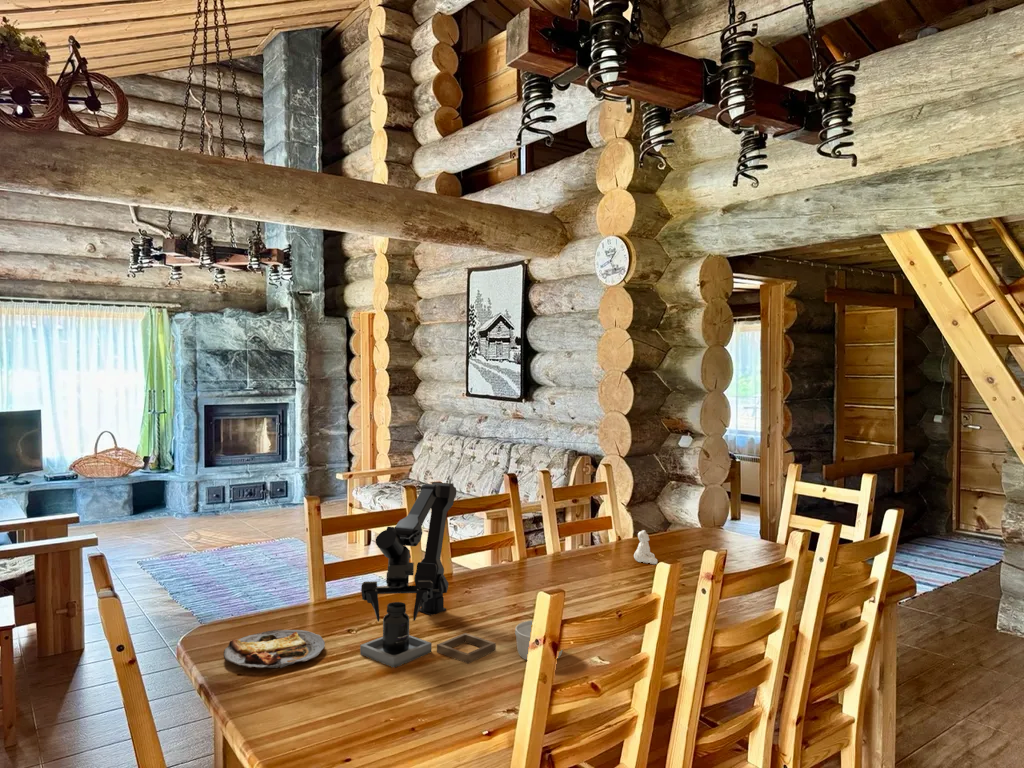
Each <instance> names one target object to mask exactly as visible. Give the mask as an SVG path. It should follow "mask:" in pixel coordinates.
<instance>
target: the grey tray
mask: <svg viewBox="0 0 1024 768" xmlns="http://www.w3.org/2000/svg"><path fill="white" fill-rule="evenodd" d="M432 643H433V642H431V641H427V640H424V639H422V638H419V637H415V636H414V635H410V634H409V649H408V650H407V651H405V652H403V653H400V654H388V653H386V652H384V651H383V636H380V637H378V638H375V639H373V640H369V641H368V642H365V643H362V644H360V645H359V646H360V649H359V652H360V653H359V654H360V655H361V656H363V657H365V656H366V657H365V658H368V657H369V658H368V659H370V658H371V660H373V661H375V660H376V661H375V662H378V661H379V662H378V663H380V662H381V663H380V664H384V665H385V664H386V665H385V666H388V665H389V666H388V667H390V666H391V668H393V667H394V669H396V668H398V667H400V666H403V665H404V663H405V664H407V663H409V662H412V661H414V660H417V659H419V658H422V657H424V656H426V655H428V653H429V654H430V652H431V653H432ZM421 656H422V657H421ZM402 664H403V665H402ZM397 666H398V667H397ZM395 667H396V668H395Z"/></svg>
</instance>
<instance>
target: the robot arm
mask: <svg viewBox="0 0 1024 768" xmlns="http://www.w3.org/2000/svg"><path fill="white" fill-rule="evenodd" d="M456 496H457V487H455V486H454V484H453V483H450V482H438V481H437V482H436V481H434V482H432V483H424V484H422V486H421V488H420V493H419V494H418V496H417V498H416V500H415V502H414V503H413V505H412V506H411V509H410V510H409V512H408V514H407V516H405V517H403V518H402V519H399V521H398V522H397V524H396V525H395V526H387V527H386V529H385V530H382V531H381V532H379V534H378V535H377V536H376V537H375V545H376V546H377V548H378V549H379V550H380V551H381V553H382V554H383V555H384V557H385V558H387V559H388V561H387V572H386V578H385V579H386V585H385V586H383V585H380V586H379V585H378V581H377V580H375V581H363V582H362V583H361V589H360V592H361V593H360V594H361V599H362V600H363V601H366V602H367V603H368V604H371V606H372V608H373V610H374V613H375V618H376V621H377V622H380V607H379V597H378V596H379V595H385V594H386V595H388V594H390V595H391V594H392V595H393V594H415V600H414V601H415V602H414V608H413V615H412V616H413V617H412V618H413V619H412V620H413V622H414V621H416V618H417V617H418V614H419V612H421V613H422V614H425V615H429V616H434V614H435V615H437V614H440V613H443V612H445V611H447V608H446V607H445V606H444V603H445V601H444V594H446V593H448V590H449V582H448V580H447V579H446V576H445V575H444V573H445V568H444V565H443V563H442V561H441V555H442V548H443V544H444V542H443V541H444V534H445V528H446V522H447V515H448V512H449V510H450V509H451V508H452V507H453V506H454V502H455V499H456ZM430 510H431V512H430ZM429 512H430V518H429V523H428V533H427V538H426V545H425V552H424V556H423V559H421V561H420V562H417V564H416V571H415V569H414V566H415V564H414V562H410V559H411V557H412V556H411V553H410V549H409V548H408V547H417V546H418V545H419V543H420V542H421V539H422V536H423V532H424V531H423V529H422V528H423V527H422V526H423V524H424V523H425V520H426V518H427V516H428V514H429ZM414 571H415V574H414ZM410 576H414V578H413V579H414V585H409V577H410Z"/></svg>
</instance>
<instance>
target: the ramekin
mask: <svg viewBox="0 0 1024 768" xmlns="http://www.w3.org/2000/svg"><path fill="white" fill-rule="evenodd" d="M531 625H532V620H525V621H522V622H520V623H518V624H517V625H516V626H515V628H514V629H515V630H514V633H515V638H516V648H517V649H516V650H517V653H518V655H519V656H520V657H521V658H522V659H523V660H525V661H527V660H526V659H527V654H528V647H529V641H530V632H531ZM562 654H563V650H561V651H560V652H559V656H558V659H559V658H560V657H561V655H562Z"/></svg>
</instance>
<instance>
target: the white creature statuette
mask: <svg viewBox="0 0 1024 768" xmlns="http://www.w3.org/2000/svg"><path fill="white" fill-rule="evenodd" d="M637 538H638V540H639V543H638V545H637V548H636V550H635V551H634V554H633V558H634V560H635V561H636V562H638V563H641V562H643V563H642V564H648V563H650V564H649V565H657V564H658V559H657V558H656V557H655V554H654V553H653V552H651V547H650V544H649V541H650V537H649V534H648V533H647V532H646V530H645V529H642V530H641V531H639V532H638V533H637Z"/></svg>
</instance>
